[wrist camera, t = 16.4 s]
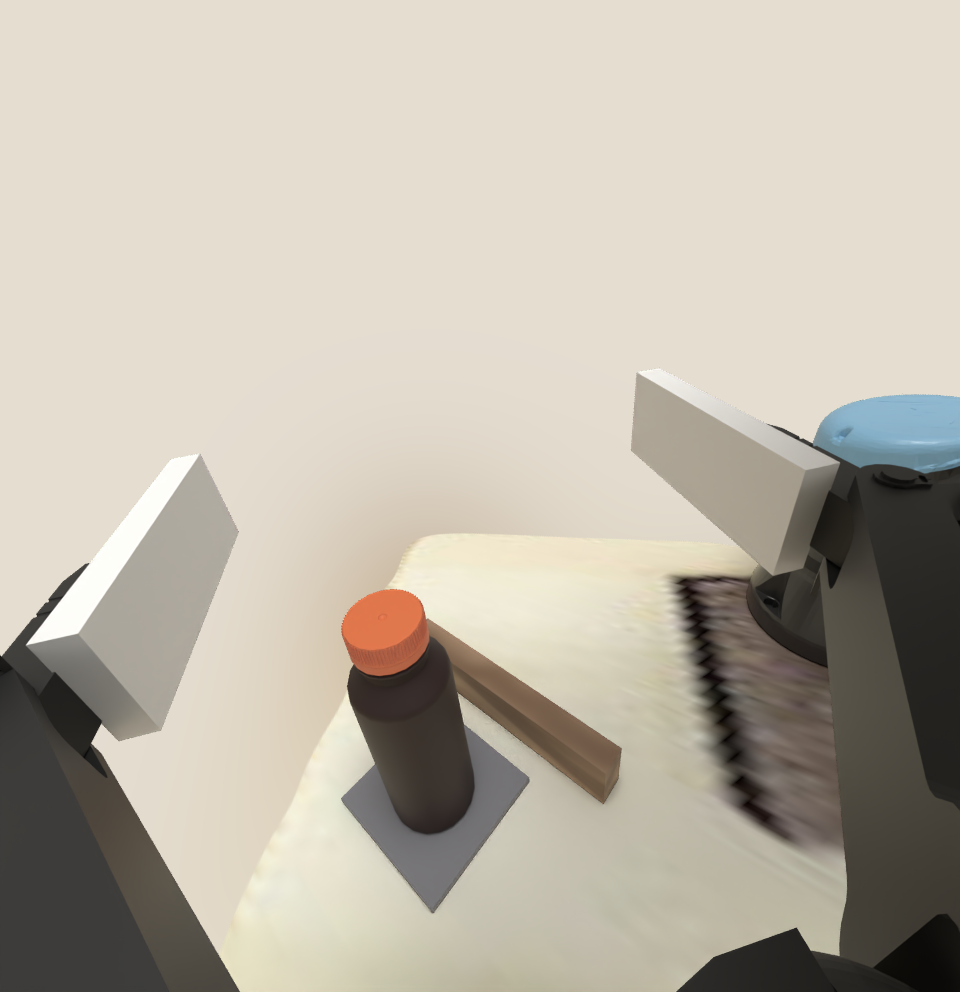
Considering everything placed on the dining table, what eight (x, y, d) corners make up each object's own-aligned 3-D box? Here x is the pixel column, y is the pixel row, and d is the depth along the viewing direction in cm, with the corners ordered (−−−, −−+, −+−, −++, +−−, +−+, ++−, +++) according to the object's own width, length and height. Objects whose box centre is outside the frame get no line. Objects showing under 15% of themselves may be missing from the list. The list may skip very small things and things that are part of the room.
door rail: (434, 647, 51) (427, 618, 49) (618, 778, 38) (621, 748, 35) (418, 661, 50) (410, 632, 47) (603, 803, 36) (605, 773, 34)
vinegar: (492, 781, 38) (463, 607, 27) (433, 858, 34) (372, 688, 23) (434, 732, 42) (390, 564, 31) (376, 796, 38) (301, 627, 27)
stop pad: (438, 706, 45) (437, 702, 45) (529, 781, 38) (529, 777, 38) (342, 802, 38) (340, 798, 38) (433, 913, 32) (431, 909, 31)
